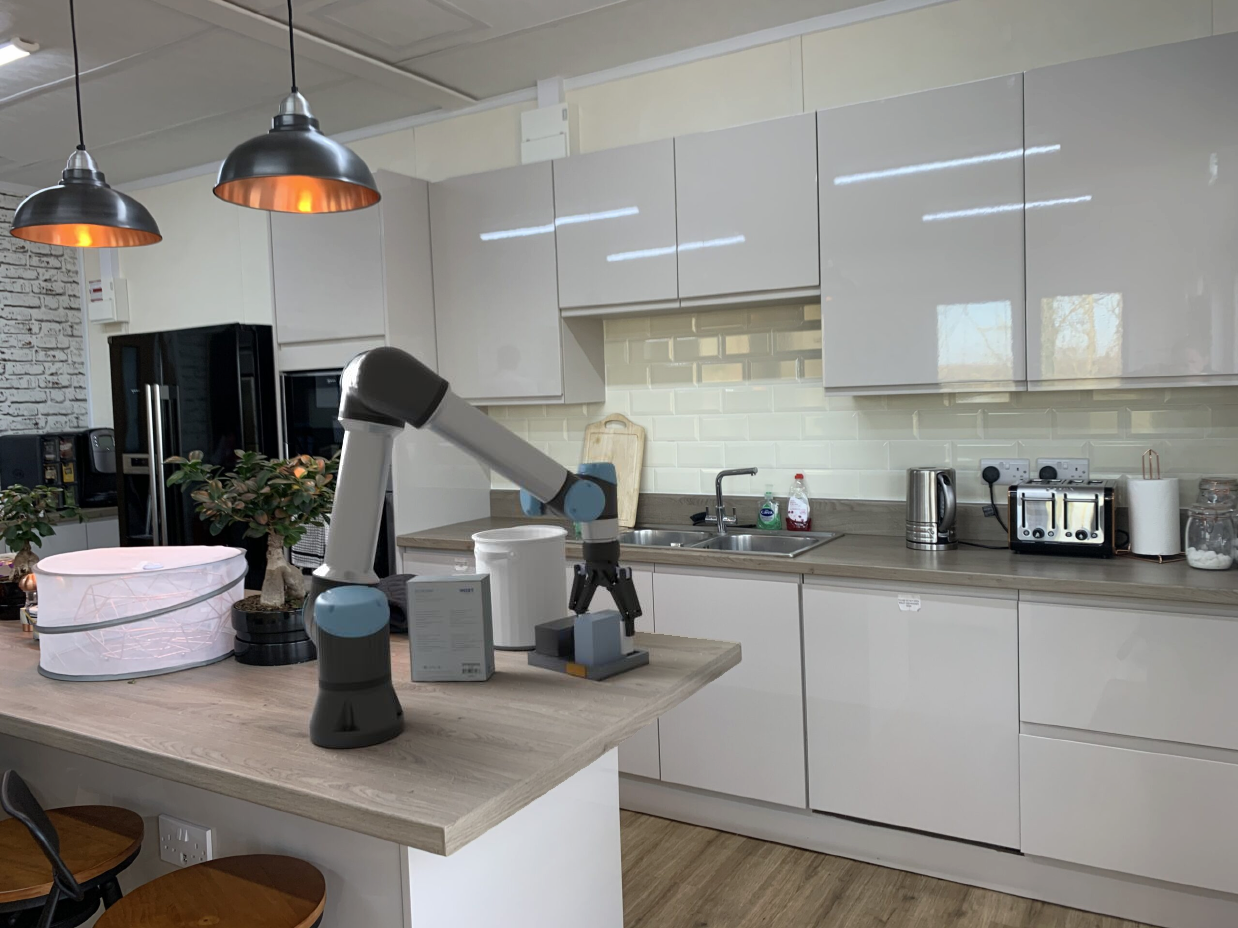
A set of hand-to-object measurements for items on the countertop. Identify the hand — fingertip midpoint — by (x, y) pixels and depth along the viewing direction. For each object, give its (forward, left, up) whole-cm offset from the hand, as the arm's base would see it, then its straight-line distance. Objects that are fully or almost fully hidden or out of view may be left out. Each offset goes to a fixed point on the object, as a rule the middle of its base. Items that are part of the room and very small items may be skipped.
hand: (606, 648), depth 187 cm
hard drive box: (-22, +21, -4) cm, 31 cm away
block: (0, +1, -3) cm, 4 cm away
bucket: (+6, +31, -4) cm, 32 cm away
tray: (0, +5, -4) cm, 7 cm away
